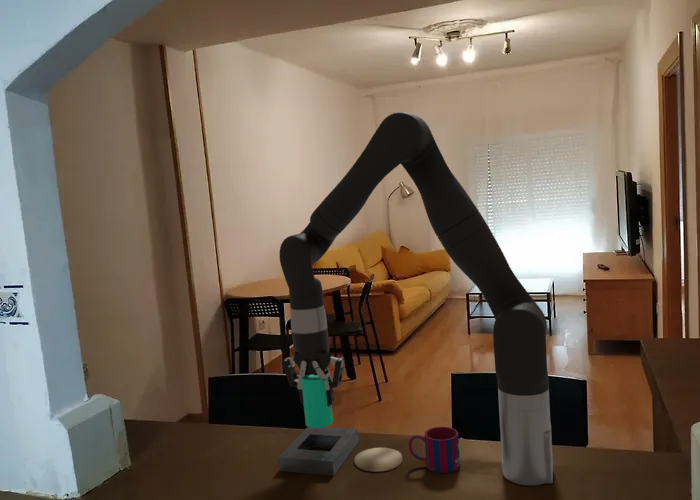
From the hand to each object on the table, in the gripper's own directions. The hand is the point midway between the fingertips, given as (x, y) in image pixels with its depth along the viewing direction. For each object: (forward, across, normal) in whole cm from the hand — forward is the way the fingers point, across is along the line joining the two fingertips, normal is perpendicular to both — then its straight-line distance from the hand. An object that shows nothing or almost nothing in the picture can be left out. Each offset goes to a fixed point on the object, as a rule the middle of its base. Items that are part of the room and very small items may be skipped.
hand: (317, 404), depth 129 cm
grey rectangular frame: (+11, 0, 0) cm, 11 cm away
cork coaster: (+12, -13, 0) cm, 17 cm away
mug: (+12, -24, 0) cm, 27 cm away
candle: (+4, 0, 0) cm, 4 cm away
